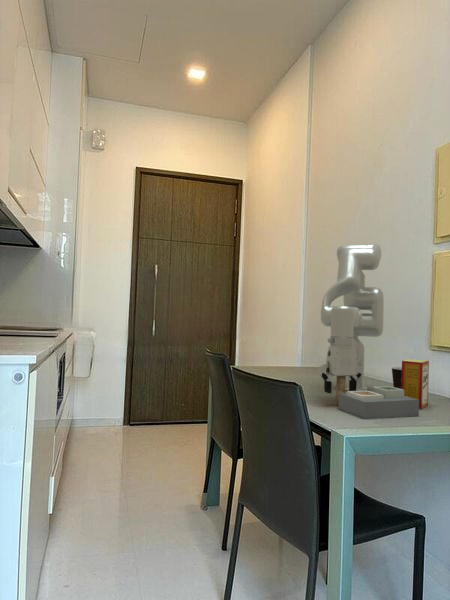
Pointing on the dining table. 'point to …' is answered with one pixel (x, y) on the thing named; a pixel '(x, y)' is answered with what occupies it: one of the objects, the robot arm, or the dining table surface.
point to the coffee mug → (397, 377)
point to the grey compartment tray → (379, 403)
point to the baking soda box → (416, 380)
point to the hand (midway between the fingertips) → (340, 392)
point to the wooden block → (340, 386)
